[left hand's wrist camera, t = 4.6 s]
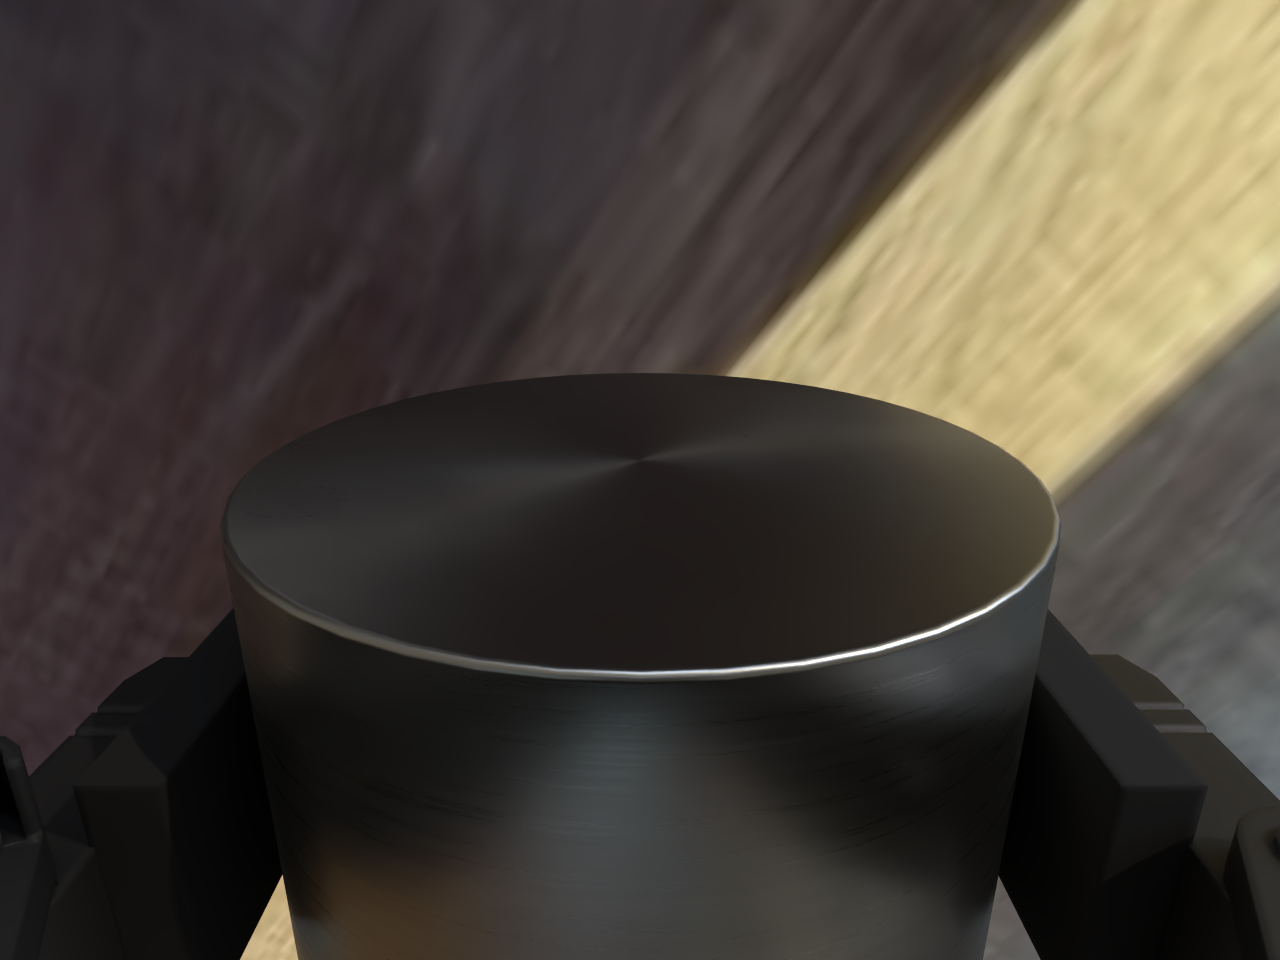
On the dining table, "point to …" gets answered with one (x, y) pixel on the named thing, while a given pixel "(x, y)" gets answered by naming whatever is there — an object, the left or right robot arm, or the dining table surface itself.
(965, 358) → the dining table surface
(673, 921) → the rod
